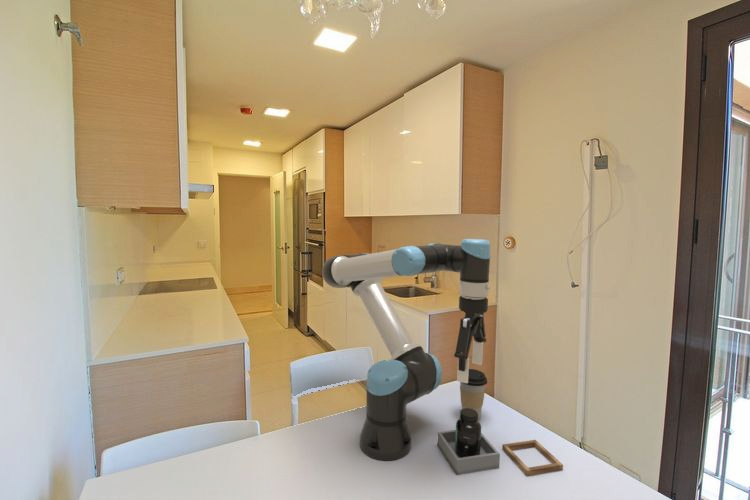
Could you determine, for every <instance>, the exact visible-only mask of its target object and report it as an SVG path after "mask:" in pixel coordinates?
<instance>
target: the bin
mask: <svg viewBox="0 0 750 500" xmlns="http://www.w3.org/2000/svg"><path fill="white" fill-rule="evenodd" d="M455 438H456V429H452V430H445V431H438V432H437V447H438V448H439V450H440V451H441V453H442V455H443V456H444V457H445V460H446V462H448V463H449V466H450V467H451V468H452V470H453V471H454V473H455V474H456V476H458V475H464V474H470V473H477V472H482V471H488V470H494V469H495V470H496V469H499V468H500V459H501V458H500V457H501V453H500V451H498V450H497V449H496V447H494V446H493V444H492V443H490V441H489V440H488V439H487V438H486V436H485V435H484V434H483V433H482V432H481V448H480V455H476V456H470V457H463V458H460V457H459V456H458V455H457V454H456V451H455Z"/></svg>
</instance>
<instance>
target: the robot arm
mask: <svg viewBox="0 0 750 500" xmlns="http://www.w3.org/2000/svg"><path fill="white" fill-rule="evenodd" d="M491 258H492V257H491V243H490V241H489V240H487V239H483V238H482V239H481V238H463V239H462V240H461V244H460V245H455V244H444V243H440V242H438V243H436V242H435V243H429V244H427V245H406V246H402V247H399V248H396V249H390V250H385V251H379V252H375V253H366V252H365V253H364V252H360V253H353V254H339V255H334V256H331V257H329V258H328V259H326V260H325V262H324V263H323V264H322V268H321V276H322V278H323V280H324V282H325V283H326V284H327V285H328V286H331V287H332V288H336V289H343V288H345V289H346V288H350V289H351V291H352V293H353V295H354V296H356V297H359V298H360V299H361V301H362V303H363V304H364V306H365V309H366V311H367V313H368V314H369V316H370V319H372V322H373V324H374V326H375V327H376V329H377V332H378V333H379V335H380V337H381V338H382V340H383V342H384V344H385V346H386V348H387V350H388V352H389V354H390V356H391V358H390V359H388V360H385V359H384V360H380V361H377V362H375V363H374V364H372V365H371V366H370V367H369V368H368V370H367V375H366V377H367V378H366V383H365V387H366V405H365V406H366V410H365V411H366V413H365V414H366V416H365V420H364V423H363V425H362V428H361V432H360V435H359V446H360V449H361V450H362V452H363V453H365V455H367V456H369V457H370V458H371V459H375V460H380V461H395V460H399V459H400V458H403V457H405V456H406V455H408V453H409V452H410V450H411V449H412V434H411V431H410V429H409V425H408V421H407V405H408V404H410V403H413V402H414V401H417V399H420V398H422V397H424V396H427V395H429V394H431V393H432V392H433V391H434V390H436V389H438V387H439V386H440V384H441V383H442V382H441V381H442V377H443V373H442V371H443V369H442V366H441V364H440V362H439V359H438V358H437V357H436V356H435V355H434V354H431V352H430V353H429V352H425V350H424V348H423V347H422V345H420V344H417V343H415V341H414V340H413V338H412V336H411V335H410V333H409V331H408V330H407V327H405V325H404V323H403V321H402V319H401V318H400V316H399V314H398V312H397V310H396V308H395V307H394V305H393V303H392V302H391V300H390V298H389V296H388V295H387V293H386V291H385V289H384V287H383V286H382V283H383V279H386V278H394V277H402V276H403V277H404V276H405V277H412V276H416V275H422V274H423V275H424V274H428V273H429V274H430V273H436V272H442V271H443V272H444V271H445V272H454V273H459V287H458V289H459V291H458V293H459V295H460V296H459V298H458V309H459V310H460V311H461V312H463V313H465V314H464V317H463V318H460V320H459V331H458V337H457V342H456V347H455V352H454V355H453V356H454V358H457V368H456V370H457V373H456V381H457V382H459V383H460V382H463V383H468V371H469V369H470V367H469V366H470V357H469V354H470V349H471V345H472V357H471V359H472V360H471V364H474V365H478V366H482V365H483V356H484V355H483V354H484V352H483V351H484V343H487V338H486V337H487V336H486V328H485V327H486V326H485V315H484V314H486V313H487V312H488V306H489V298H487V297H488V296H489V290H491V286H490V285H489V280H490V265H491V264H490V263H491Z"/></svg>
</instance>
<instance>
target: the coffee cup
mask: <svg viewBox="0 0 750 500" xmlns="http://www.w3.org/2000/svg"><path fill="white" fill-rule="evenodd" d="M459 383H460V384H459V390H460V392H459V393H460V404H461V409H463V408H470V409H473V410H475V411H477V413H478V421H480V419H481V415H482V407H483V404H484V400H485V392H486V385H487V384H488V378H487V377H486V374H485V373H484V372H482V371H481V370H478V369H473V368H469V371H468V383H463V382H459Z"/></svg>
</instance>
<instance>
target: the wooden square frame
mask: <svg viewBox="0 0 750 500" xmlns="http://www.w3.org/2000/svg"><path fill="white" fill-rule="evenodd" d="M501 447H502V451H503V452H504V453H505V454H506V455H507V456H508V458H510V460H511V461H512V462H513V463H514V464H515V465H516V466H517V468H519V469H520V471H521V472H522V473H523V474H524V475H525V476H526V477H530V476H531V477H532V476H536V475H543V474H547V473H548V474H549V473H553V472H554V473H555V472H561V471H563V469H564V464H563V463H562V462H561V461H559V459H557V458H556V457H555V456H554V455H553V454H552V453H551V452H550V451H548V449H546V448H545V447H544V446H543V445H542V444H541V443H540V442H539V441H537V440H536V439H530V440H523V441H517V442H511V443H510V442H509V443H504V444H502V446H501ZM531 448H535V449H536V450H537V451H538V452H539V453H540V454H541V455H542V456H544V458H545V459H547V460H548V462H550V463H548V464H541V465H536V466H531V467H528V466H527V465H526V464H525V463H524V461H522V460H521V459H520V458H519V456H518V455H517V454H515V452H514V451H517V450H518V451H519V450H523V449H531Z"/></svg>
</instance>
